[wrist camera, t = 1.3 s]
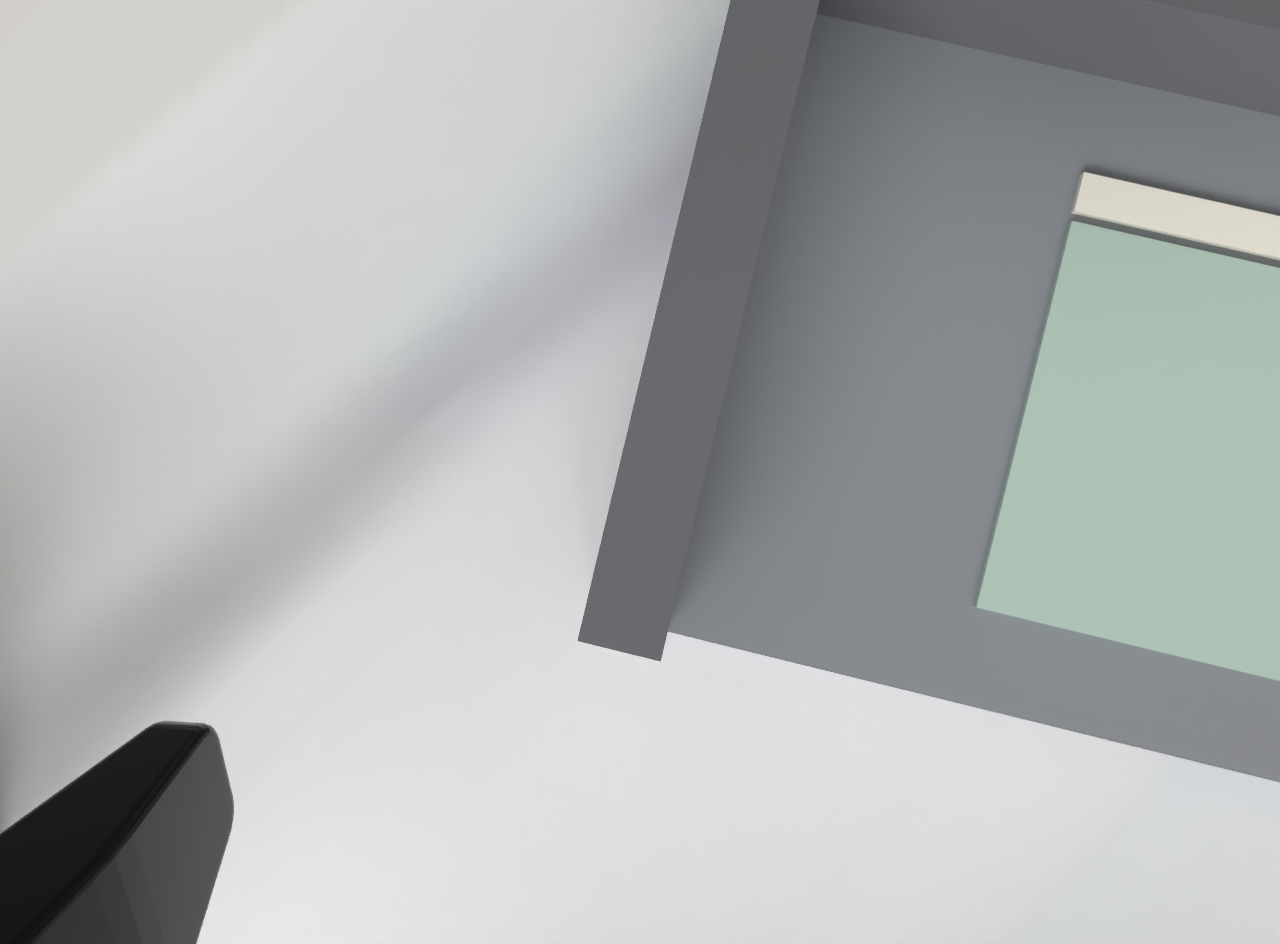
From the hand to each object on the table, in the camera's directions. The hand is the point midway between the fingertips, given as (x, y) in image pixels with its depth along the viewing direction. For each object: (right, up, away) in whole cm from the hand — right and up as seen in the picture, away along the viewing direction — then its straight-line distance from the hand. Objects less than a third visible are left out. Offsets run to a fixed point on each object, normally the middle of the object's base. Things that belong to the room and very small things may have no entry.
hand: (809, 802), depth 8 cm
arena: (+8, +5, +15) cm, 18 cm away
